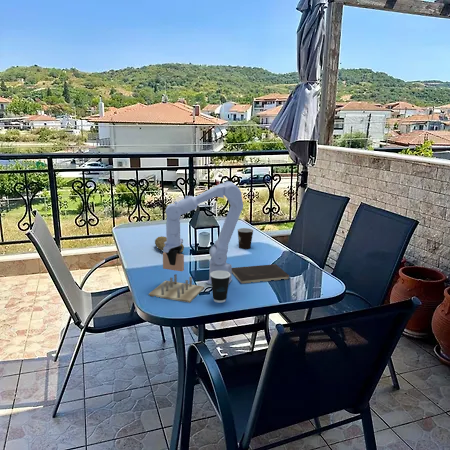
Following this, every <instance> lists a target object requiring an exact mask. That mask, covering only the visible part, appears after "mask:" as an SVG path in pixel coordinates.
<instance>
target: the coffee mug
mask: <svg viewBox="0 0 450 450" xmlns="http://www.w3.org/2000/svg"><path fill="white" fill-rule="evenodd" d="M253 235H254V230H253V229H252V228H250V227H249V228H247V227H241V228H238V229H237V237H238V248H239V249H242V250H249V249H251V247H252V240H253Z"/></svg>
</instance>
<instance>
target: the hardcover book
mask: <svg viewBox="0 0 450 450" xmlns="http://www.w3.org/2000/svg"><path fill="white" fill-rule="evenodd" d="M232 274H233V276H234V277H235V279H237V280H238V282H240V283H241V284H251V282H253V283H261V282H260V281H263V282H272V281H271V280H274V281H281V279H284V280H289V279H290V278H289V277H290V275H289V274H288V273H287V272H285V270H283V269H282V268H281V267H279V265H277V264H276V263H274V264H262V265H252V266H251V265H250V266H239V267H232Z"/></svg>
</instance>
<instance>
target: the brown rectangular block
mask: <svg viewBox="0 0 450 450" xmlns="http://www.w3.org/2000/svg"><path fill="white" fill-rule="evenodd" d="M162 269H163V270H170V271H177V272H183V271H185V254H184V253H183V254H182V253H180V254H177V255H176V262H175V265H170V263H169V259H168V256H167V254H166V253H165V252H163V253H162Z"/></svg>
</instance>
